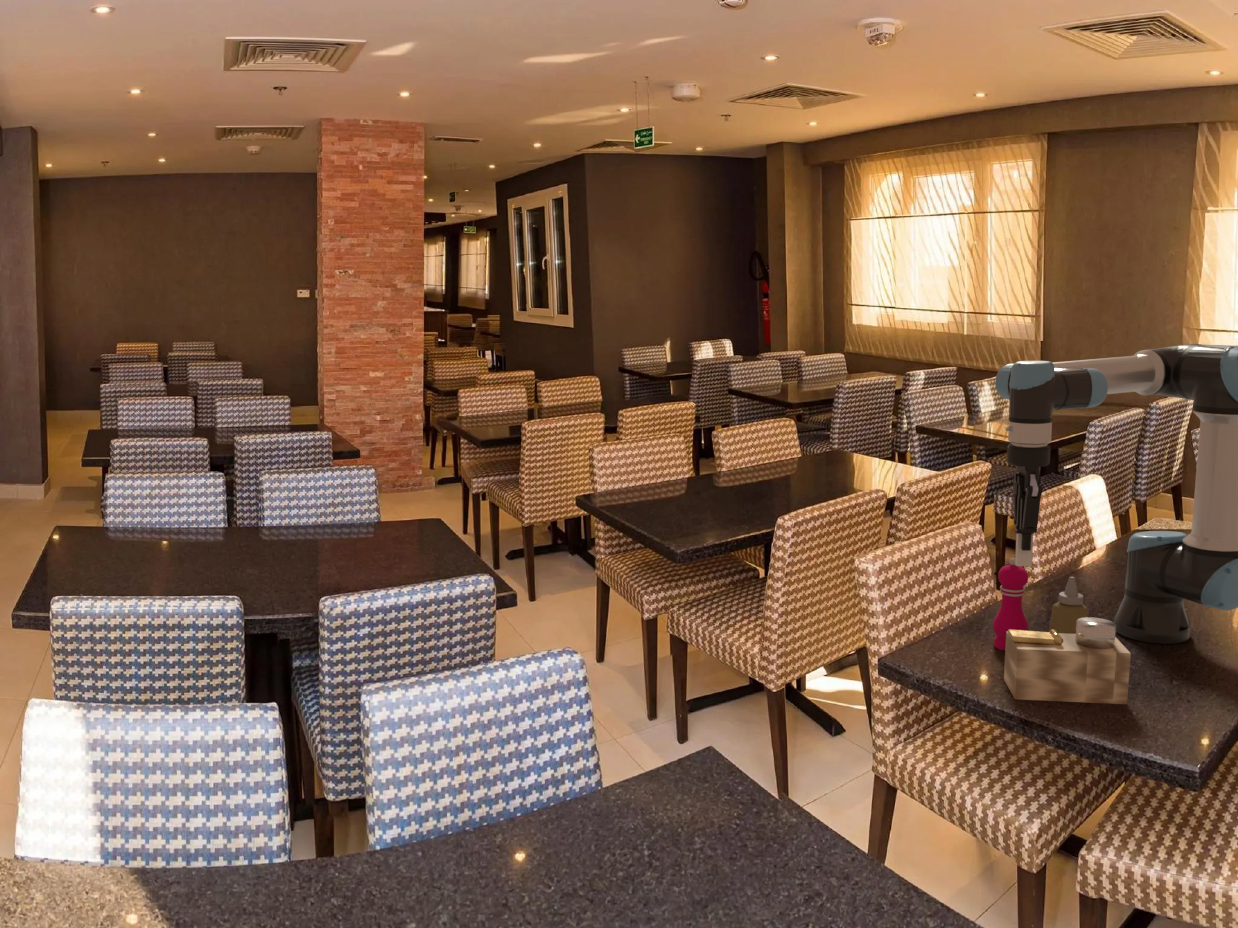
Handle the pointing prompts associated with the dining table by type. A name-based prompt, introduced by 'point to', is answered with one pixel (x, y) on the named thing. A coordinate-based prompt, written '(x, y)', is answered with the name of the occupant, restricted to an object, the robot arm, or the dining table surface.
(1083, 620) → the silver capsule
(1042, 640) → the brass latch
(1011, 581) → the pepper mill
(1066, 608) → the squeeze bottle
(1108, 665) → the maple block
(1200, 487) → the robot arm
